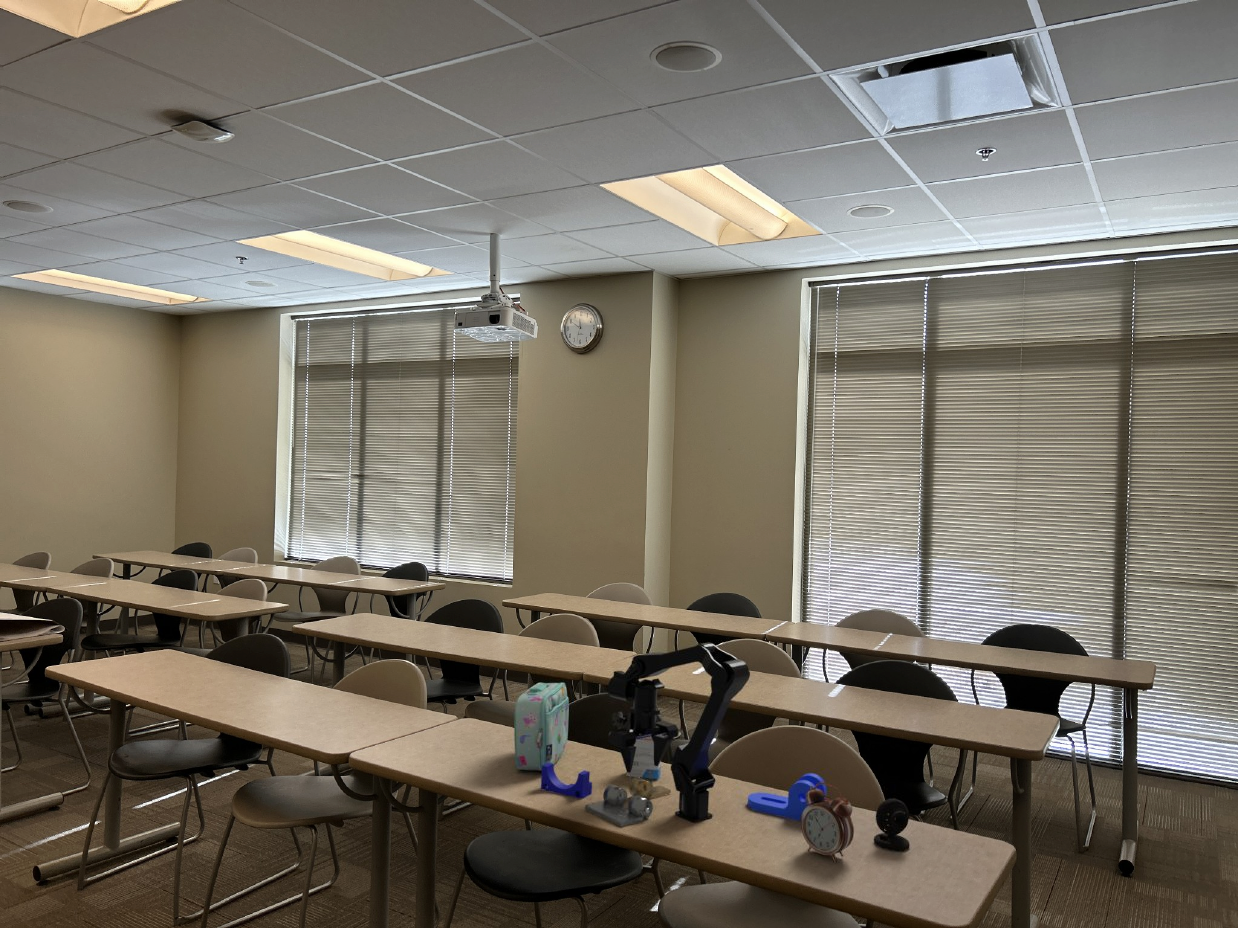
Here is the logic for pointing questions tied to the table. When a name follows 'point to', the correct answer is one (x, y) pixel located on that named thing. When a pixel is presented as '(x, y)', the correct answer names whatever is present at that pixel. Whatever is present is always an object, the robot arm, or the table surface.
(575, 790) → the blue semicircular cradle
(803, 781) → the bracket
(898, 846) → the webcam
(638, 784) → the brass hinge knuckle
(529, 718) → the lunch box
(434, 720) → the table surface
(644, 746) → the ink box
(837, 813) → the alarm clock
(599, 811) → the fixed leaf
